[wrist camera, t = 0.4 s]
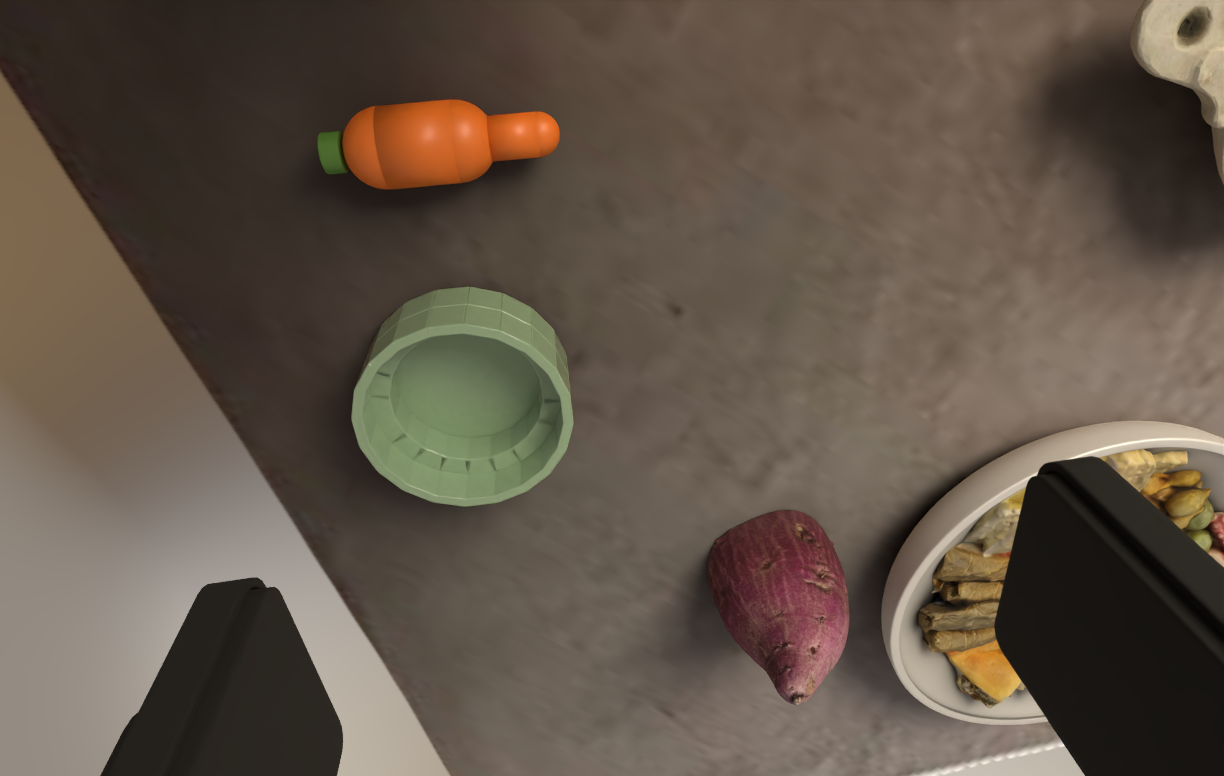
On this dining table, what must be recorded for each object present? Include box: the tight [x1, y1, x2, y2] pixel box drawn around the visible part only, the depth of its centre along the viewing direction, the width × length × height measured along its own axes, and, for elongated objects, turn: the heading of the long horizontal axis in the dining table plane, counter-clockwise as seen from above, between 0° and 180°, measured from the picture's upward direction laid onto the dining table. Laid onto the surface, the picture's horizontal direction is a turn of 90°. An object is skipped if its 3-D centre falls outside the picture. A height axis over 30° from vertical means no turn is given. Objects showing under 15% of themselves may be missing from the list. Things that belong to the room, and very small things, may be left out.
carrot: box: [317, 99, 560, 189], centre depth 38 cm, size 12×4×4 cm, turn 94°
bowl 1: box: [351, 287, 574, 506], centre depth 45 cm, size 12×12×6 cm
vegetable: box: [707, 510, 849, 705], centre depth 53 cm, size 10×10×15 cm
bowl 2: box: [881, 421, 1224, 725], centre depth 58 cm, size 30×30×8 cm
